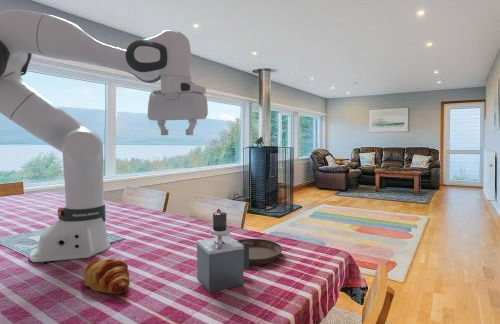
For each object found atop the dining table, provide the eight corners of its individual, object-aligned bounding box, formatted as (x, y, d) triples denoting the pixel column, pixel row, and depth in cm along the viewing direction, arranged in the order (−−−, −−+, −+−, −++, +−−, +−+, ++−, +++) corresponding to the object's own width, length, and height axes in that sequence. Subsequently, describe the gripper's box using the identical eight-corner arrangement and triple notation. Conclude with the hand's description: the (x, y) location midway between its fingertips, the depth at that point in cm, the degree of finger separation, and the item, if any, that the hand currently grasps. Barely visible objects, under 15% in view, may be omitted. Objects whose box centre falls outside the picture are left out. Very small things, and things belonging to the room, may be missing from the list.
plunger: (213, 279, 78) (213, 217, 77) (206, 271, 83) (206, 212, 82) (233, 275, 81) (233, 214, 80) (225, 267, 85) (225, 210, 84)
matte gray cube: (209, 292, 76) (209, 251, 75) (197, 277, 84) (197, 240, 83) (255, 282, 82) (256, 243, 81) (240, 269, 90) (240, 234, 89)
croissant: (80, 287, 86) (64, 265, 83) (113, 260, 92) (98, 239, 89) (115, 315, 72) (96, 290, 68) (151, 282, 78) (135, 257, 75)
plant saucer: (266, 273, 88) (266, 262, 88) (213, 260, 97) (213, 250, 96) (290, 253, 103) (291, 244, 103) (243, 244, 112) (243, 235, 112)
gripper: (142, 89, 97) (143, 135, 98) (197, 84, 88) (198, 135, 89) (157, 92, 103) (157, 135, 104) (210, 87, 94) (210, 135, 95)
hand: (176, 135), depth 97 cm, fingers open, 8 cm apart
